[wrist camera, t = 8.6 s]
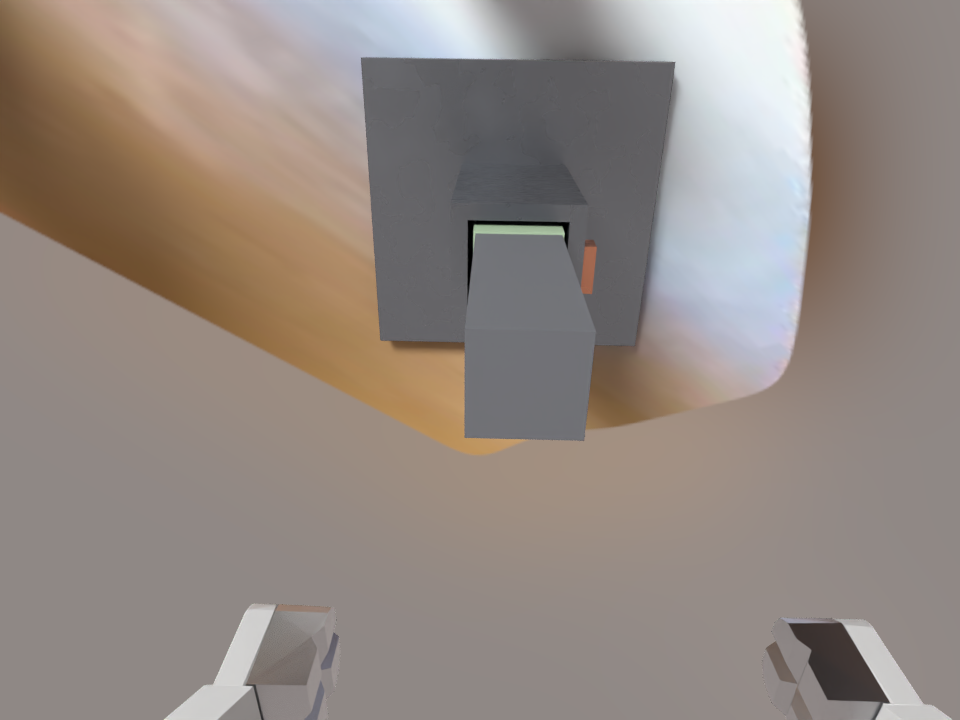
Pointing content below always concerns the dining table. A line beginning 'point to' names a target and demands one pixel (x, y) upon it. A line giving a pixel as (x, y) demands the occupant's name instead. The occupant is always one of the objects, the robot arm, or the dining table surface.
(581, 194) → the stand
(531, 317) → the post
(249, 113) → the dining table surface
